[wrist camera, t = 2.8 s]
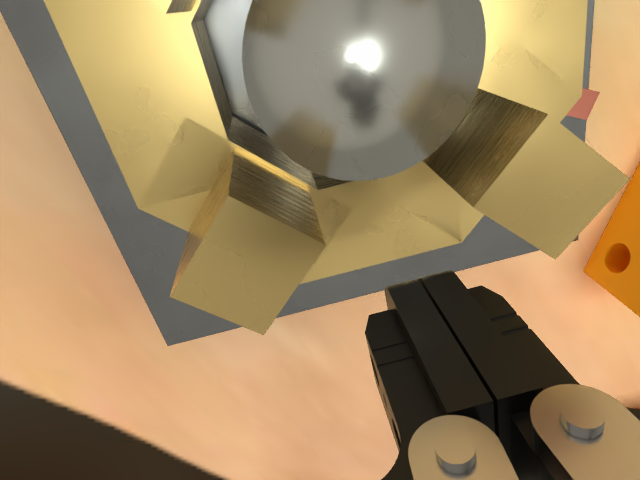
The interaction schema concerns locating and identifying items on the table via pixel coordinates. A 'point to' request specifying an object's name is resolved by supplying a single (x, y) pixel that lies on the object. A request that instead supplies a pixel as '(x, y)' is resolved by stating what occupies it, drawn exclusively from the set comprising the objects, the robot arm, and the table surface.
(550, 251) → the ring nut
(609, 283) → the pipe clamp
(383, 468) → the table surface
